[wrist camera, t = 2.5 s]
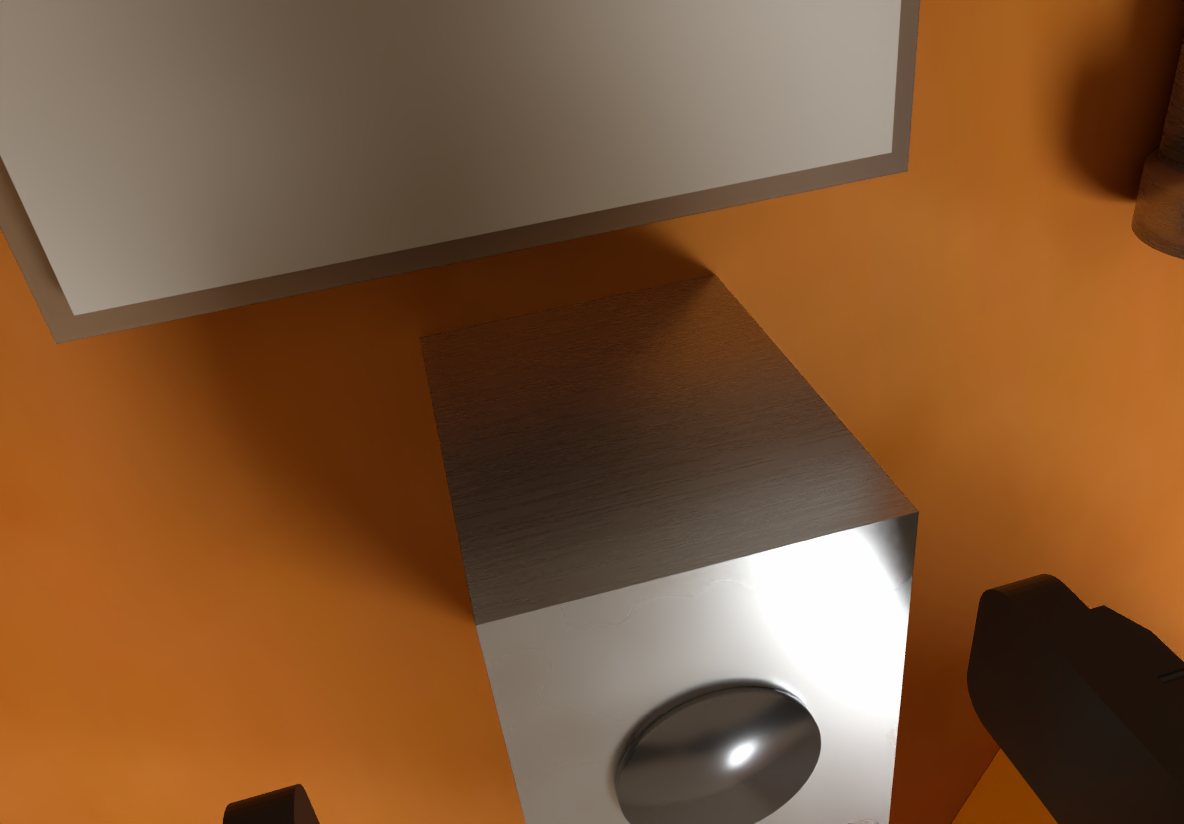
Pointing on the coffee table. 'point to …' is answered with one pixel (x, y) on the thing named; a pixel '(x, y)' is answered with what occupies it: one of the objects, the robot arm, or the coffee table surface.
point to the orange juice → (1003, 798)
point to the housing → (674, 565)
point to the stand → (409, 134)
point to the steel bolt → (1165, 181)
